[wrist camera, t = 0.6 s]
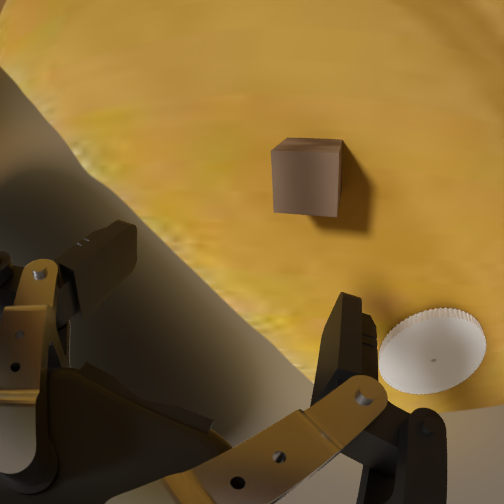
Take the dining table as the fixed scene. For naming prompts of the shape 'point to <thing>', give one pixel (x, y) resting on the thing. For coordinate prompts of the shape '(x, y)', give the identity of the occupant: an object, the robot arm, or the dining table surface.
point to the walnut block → (307, 176)
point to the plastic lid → (432, 351)
